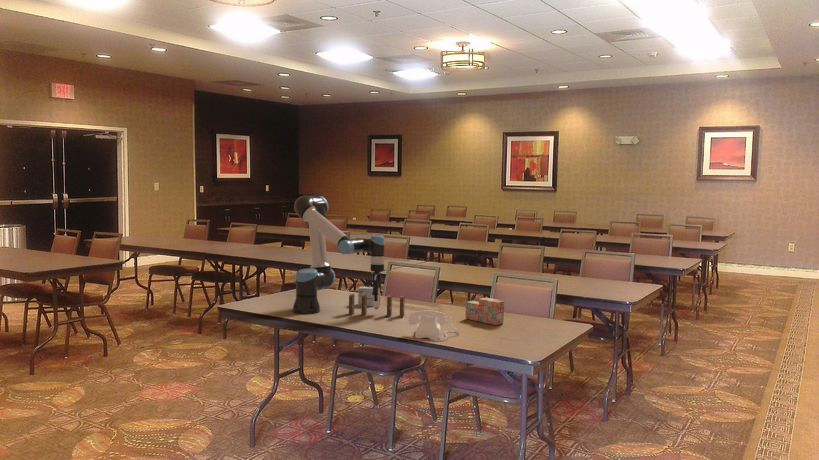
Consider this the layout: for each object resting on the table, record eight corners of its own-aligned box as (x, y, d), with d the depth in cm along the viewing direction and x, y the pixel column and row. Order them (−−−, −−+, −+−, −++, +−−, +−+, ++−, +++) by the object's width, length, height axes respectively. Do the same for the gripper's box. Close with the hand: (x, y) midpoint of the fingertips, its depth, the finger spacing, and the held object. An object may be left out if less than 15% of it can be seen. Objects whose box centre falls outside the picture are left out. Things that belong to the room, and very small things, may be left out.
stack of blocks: (465, 318, 348) (465, 296, 347) (472, 317, 352) (473, 295, 351) (496, 325, 332) (497, 301, 332) (503, 323, 337) (504, 300, 336)
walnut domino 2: (361, 315, 349) (361, 295, 349) (363, 313, 355) (363, 294, 354) (364, 316, 349) (364, 296, 348) (366, 313, 355) (366, 294, 354)
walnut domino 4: (399, 317, 347) (399, 297, 346) (401, 315, 353) (401, 295, 352) (402, 317, 347) (403, 297, 346) (404, 315, 353) (404, 295, 352)
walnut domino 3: (386, 316, 348) (387, 296, 347) (388, 314, 354) (388, 295, 353) (390, 317, 348) (390, 297, 347) (391, 314, 353) (392, 295, 353)
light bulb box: (377, 304, 383) (377, 286, 382) (375, 306, 376) (376, 288, 376) (359, 303, 384) (360, 286, 383) (357, 306, 377) (358, 287, 377)
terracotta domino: (374, 309, 348) (374, 289, 347) (376, 307, 354) (376, 287, 353) (377, 309, 348) (378, 289, 347) (379, 307, 354) (379, 287, 353)
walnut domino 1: (348, 315, 350) (349, 295, 349) (351, 313, 356) (351, 293, 355) (352, 315, 350) (352, 295, 349) (354, 313, 356) (354, 293, 355)
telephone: (460, 332, 316) (461, 307, 315) (460, 342, 295) (460, 315, 294) (409, 330, 318) (410, 305, 317) (406, 340, 297) (406, 313, 297)
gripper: (381, 266, 340) (381, 309, 341) (386, 261, 358) (386, 302, 360) (367, 265, 340) (367, 308, 342) (373, 261, 359) (373, 302, 361)
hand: (377, 305), depth 351 cm, fingers closed on terracotta domino, 6 cm apart
